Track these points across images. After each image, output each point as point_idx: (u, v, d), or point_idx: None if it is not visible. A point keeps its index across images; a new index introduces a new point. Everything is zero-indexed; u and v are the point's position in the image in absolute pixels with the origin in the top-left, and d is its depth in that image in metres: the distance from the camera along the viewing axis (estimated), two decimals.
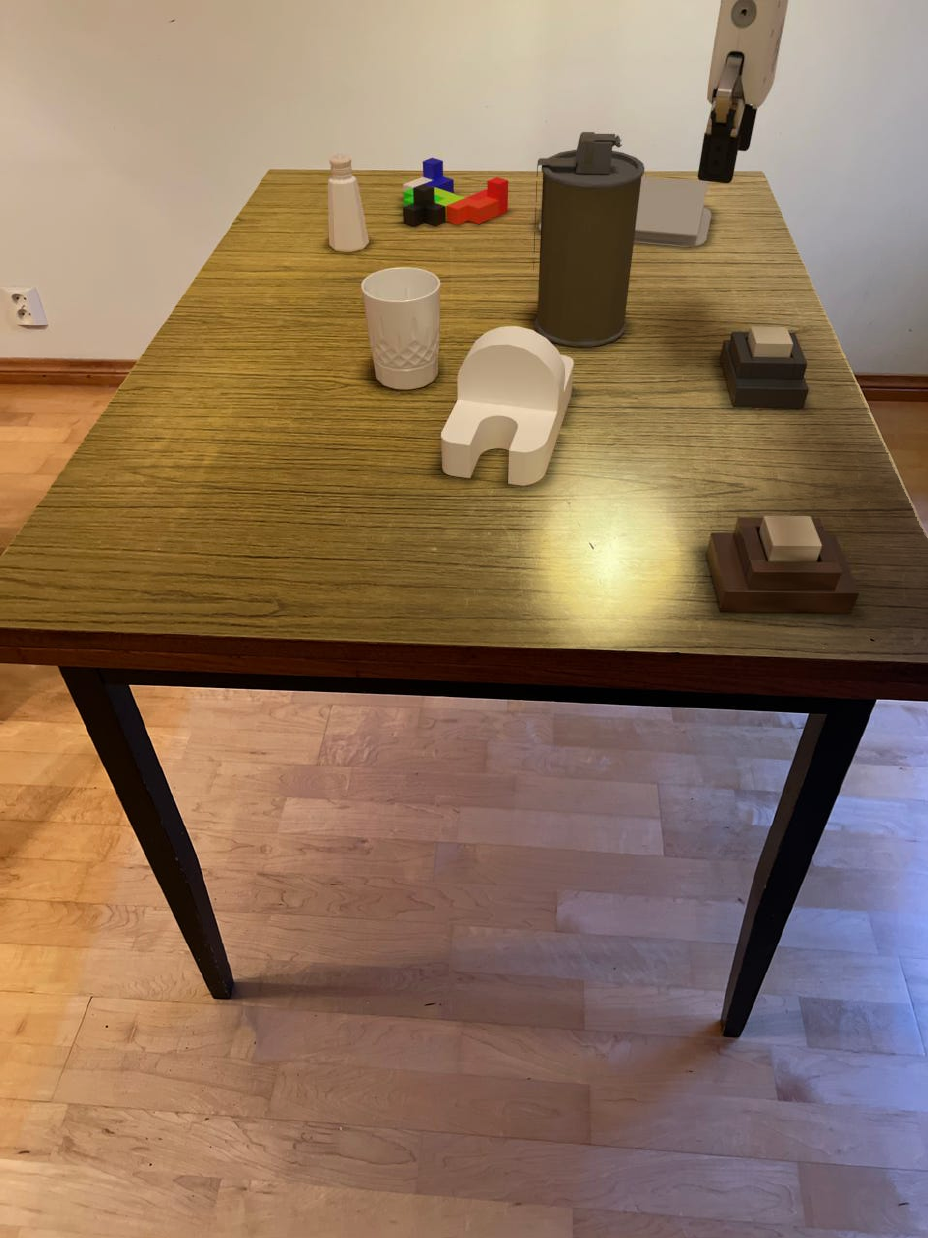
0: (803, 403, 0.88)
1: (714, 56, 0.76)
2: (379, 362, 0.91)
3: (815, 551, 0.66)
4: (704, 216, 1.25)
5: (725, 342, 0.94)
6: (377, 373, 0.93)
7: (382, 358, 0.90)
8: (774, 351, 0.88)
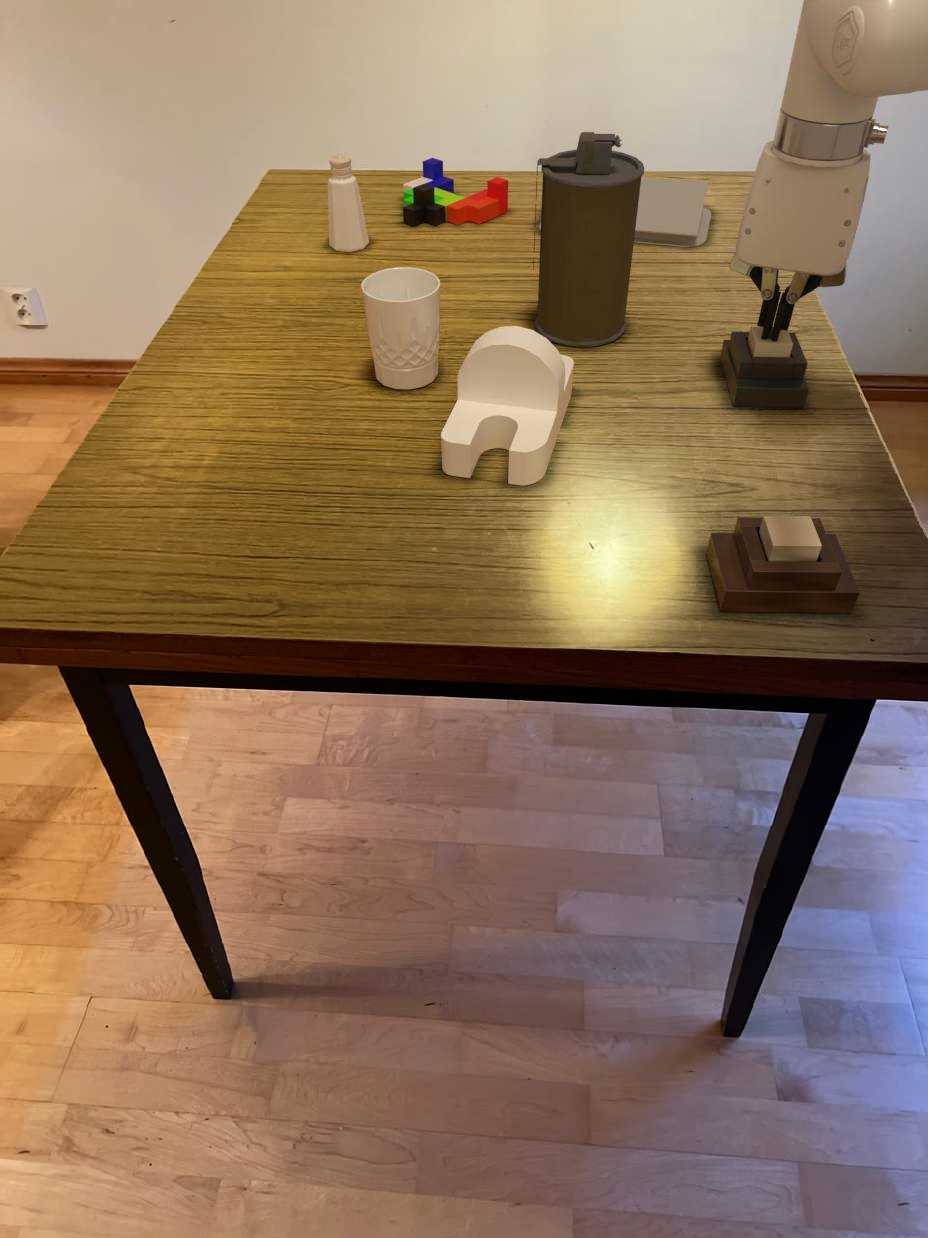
0: (803, 403, 0.88)
1: (852, 234, 0.78)
2: (379, 362, 0.91)
3: (815, 551, 0.66)
4: (704, 216, 1.24)
5: (725, 342, 0.94)
6: (377, 373, 0.93)
7: (382, 358, 0.90)
8: (774, 352, 0.88)
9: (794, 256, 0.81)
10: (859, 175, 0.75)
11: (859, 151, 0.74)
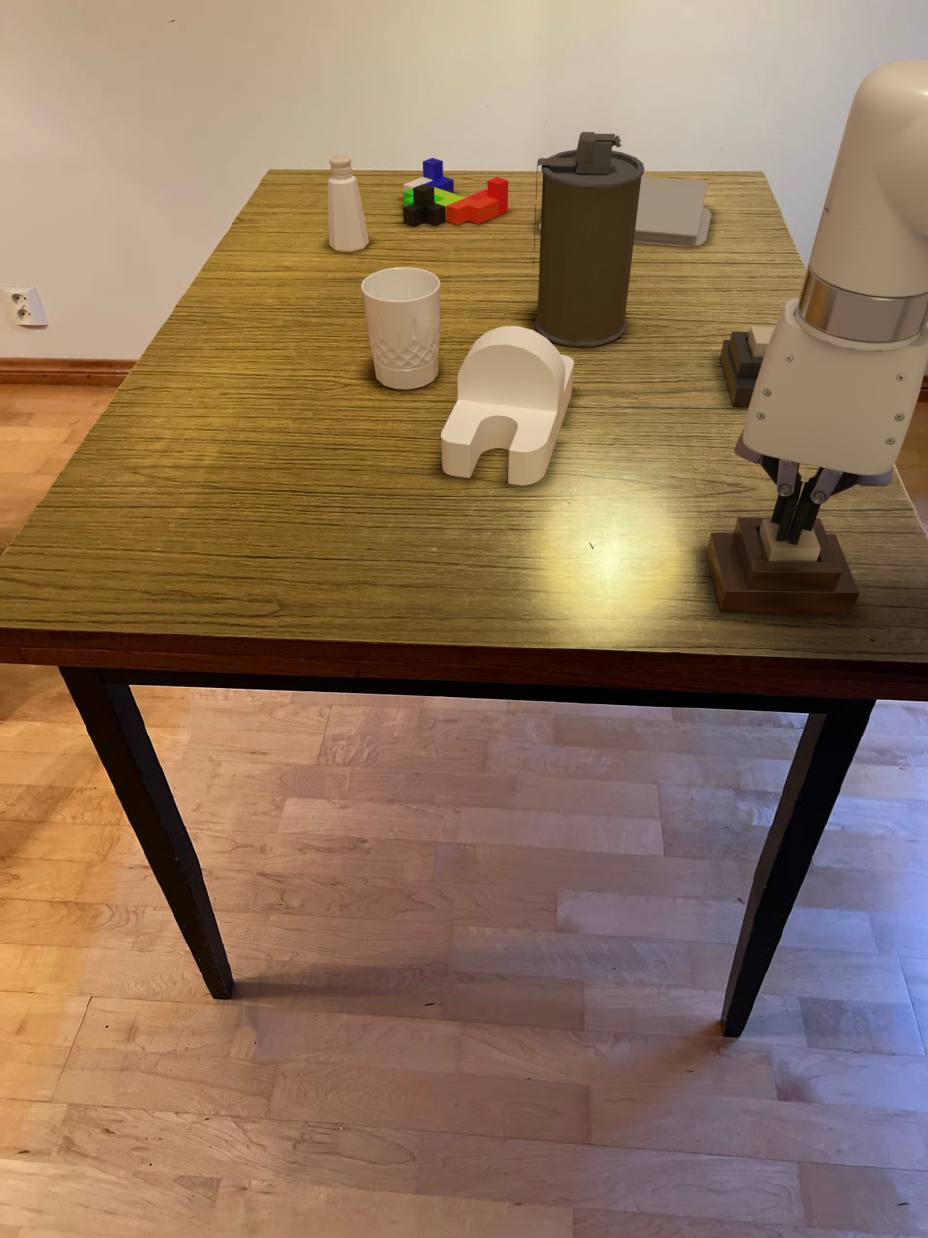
0: None
1: (905, 431, 0.57)
2: (379, 362, 0.91)
3: (814, 554, 0.66)
4: (704, 216, 1.24)
5: (725, 342, 0.94)
6: (377, 373, 0.93)
7: (382, 358, 0.90)
8: None
9: (823, 451, 0.59)
10: (919, 359, 0.53)
11: (920, 328, 0.52)
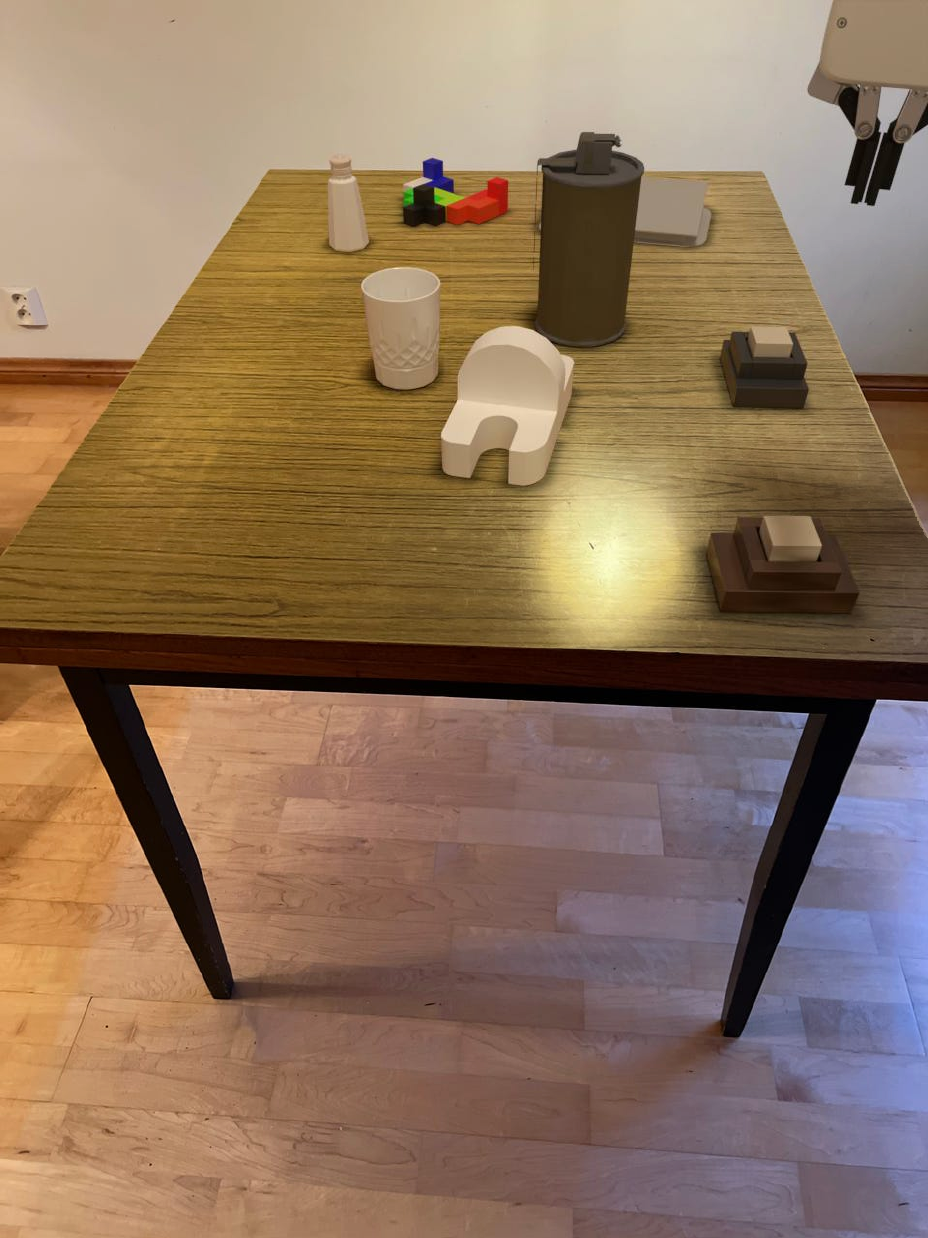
0: (803, 403, 0.88)
1: None
2: (379, 362, 0.91)
3: (815, 551, 0.66)
4: (704, 216, 1.25)
5: (725, 342, 0.94)
6: (377, 373, 0.93)
7: (382, 358, 0.90)
8: (774, 351, 0.88)
9: (912, 60, 0.54)
10: None
11: None
